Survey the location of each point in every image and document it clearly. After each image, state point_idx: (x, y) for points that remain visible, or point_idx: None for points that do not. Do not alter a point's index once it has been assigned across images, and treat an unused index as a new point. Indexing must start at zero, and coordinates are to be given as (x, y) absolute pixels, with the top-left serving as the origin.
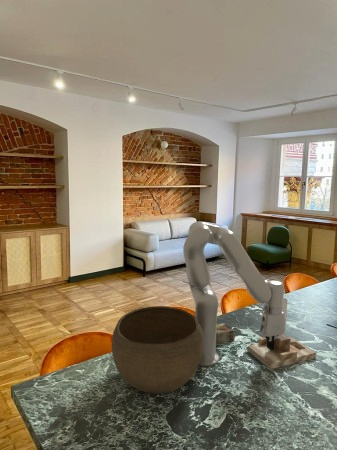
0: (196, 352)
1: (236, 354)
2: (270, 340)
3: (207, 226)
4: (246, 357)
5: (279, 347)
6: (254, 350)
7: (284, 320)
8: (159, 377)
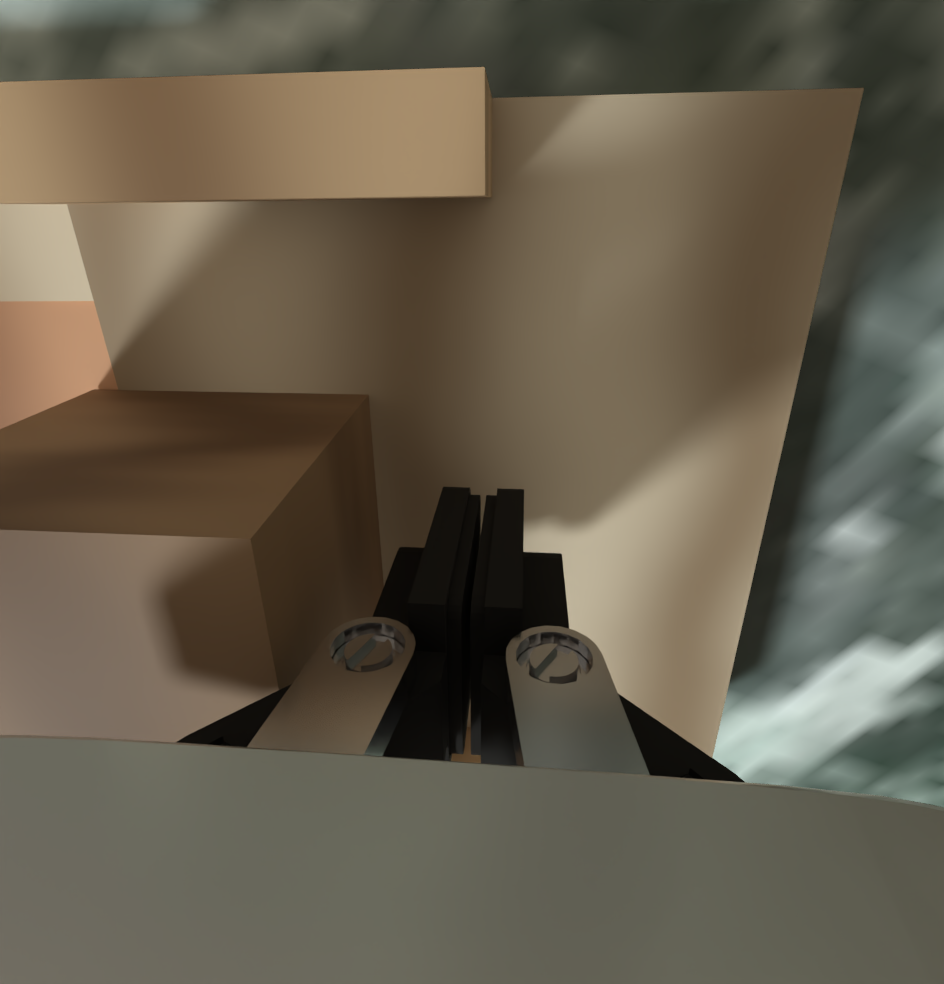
0: None
1: (916, 693)
2: (560, 661)
3: None
4: (854, 587)
5: (320, 444)
6: (731, 642)
7: None
8: None
